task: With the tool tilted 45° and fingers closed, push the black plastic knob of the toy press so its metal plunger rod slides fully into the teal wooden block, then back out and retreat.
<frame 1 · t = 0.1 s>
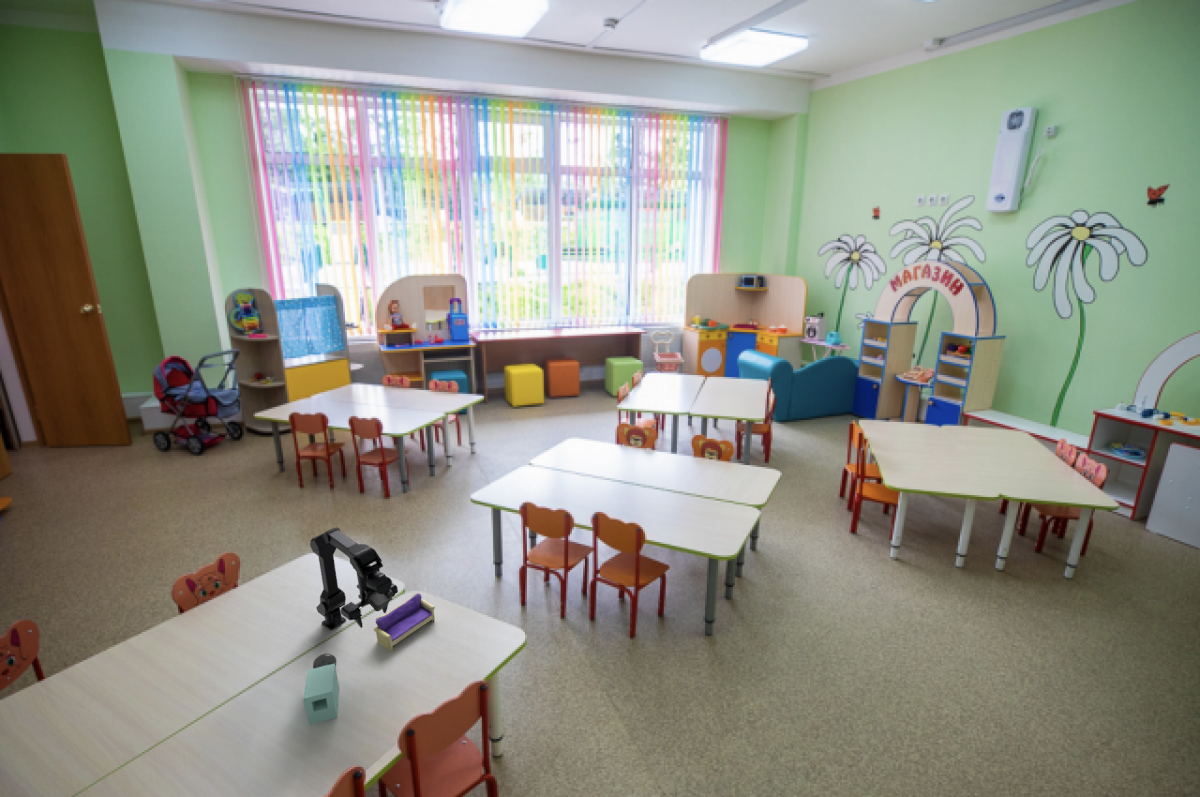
hand: (373, 619, 200), 15 cm above the table, tool pointing down, fingers open, 9 cm apart
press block: (326, 692, 189), on the table
toy sofa: (406, 631, 216), on the table
plunger: (323, 675, 187), point 7 cm above the table, slide at 0.0 cm
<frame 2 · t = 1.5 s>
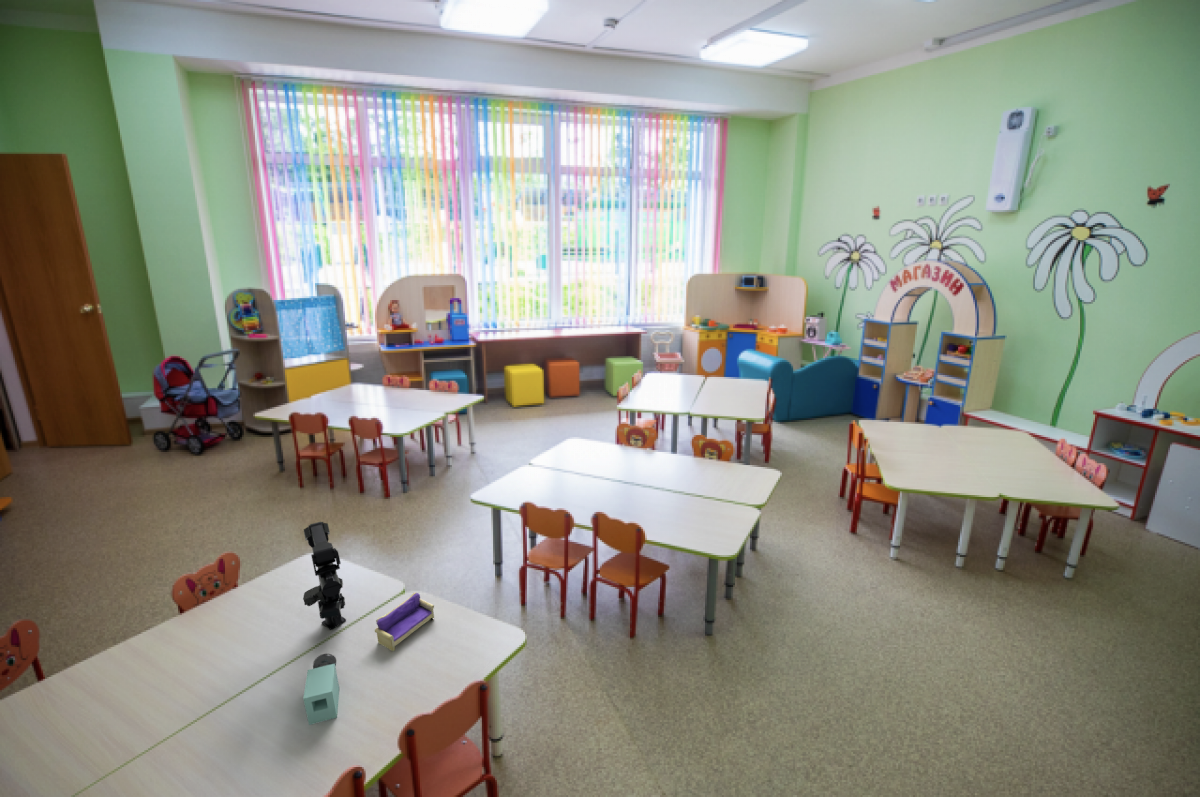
hand: (335, 617, 204), 13 cm above the table, tool pointing down, fingers closed
nothing on the table moved.
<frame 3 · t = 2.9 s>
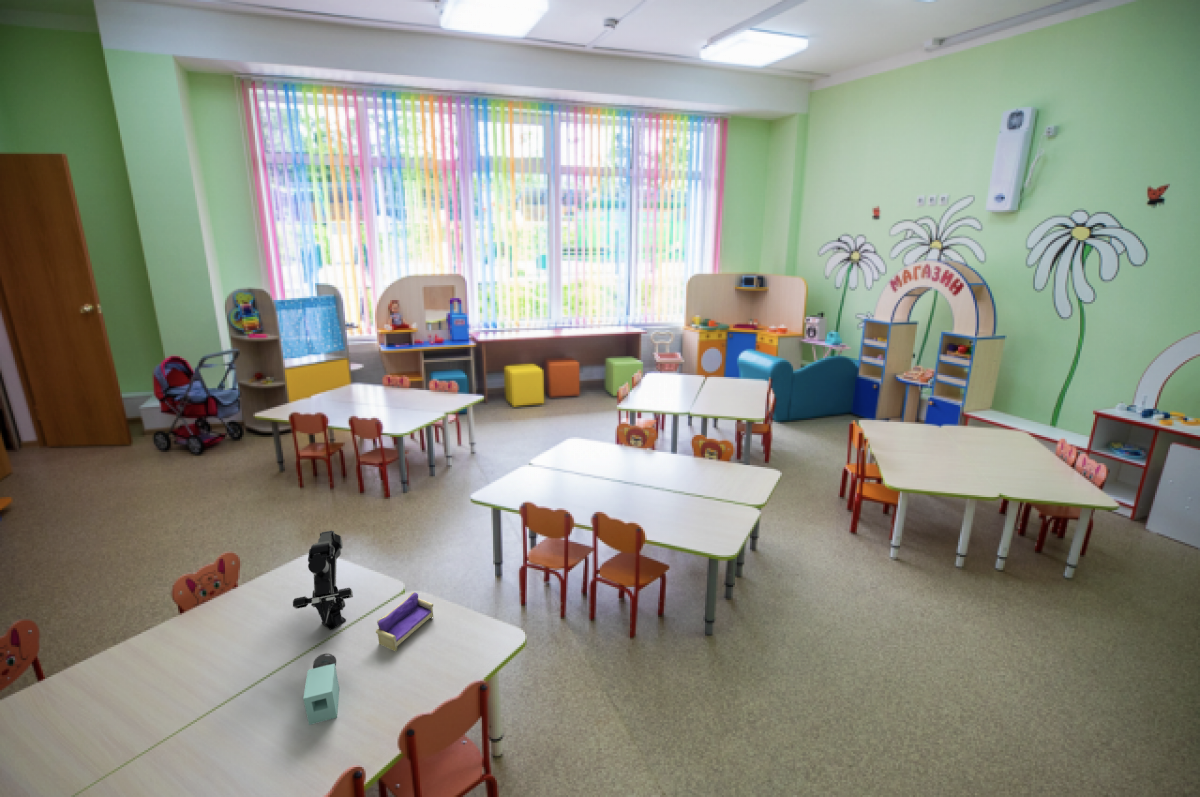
hand: (324, 623, 200), 13 cm above the table, tool tilted 45°, fingers closed
nothing on the table moved.
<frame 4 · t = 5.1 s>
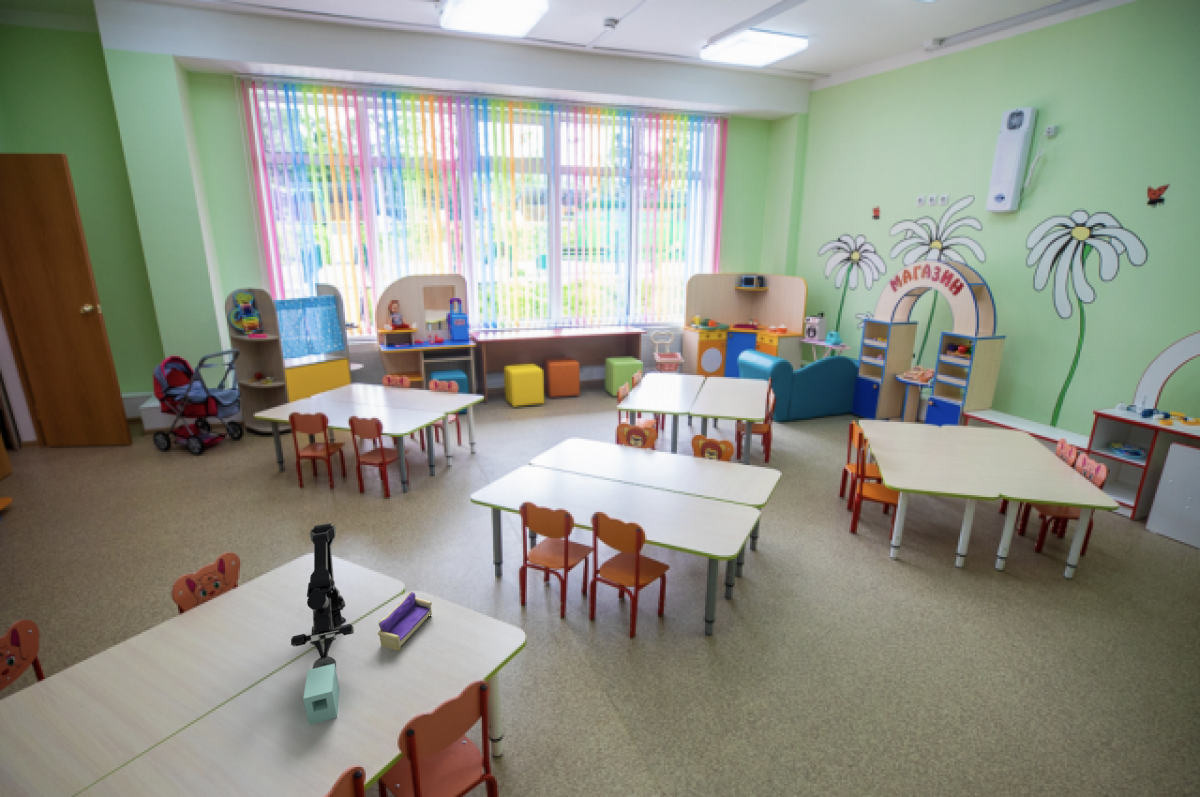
hand: (324, 662, 191), 7 cm above the table, tool tilted 45°, fingers closed, pressing on plunger
plunger: (323, 678, 186), point 7 cm above the table, slide at 1.3 cm, touching gripper
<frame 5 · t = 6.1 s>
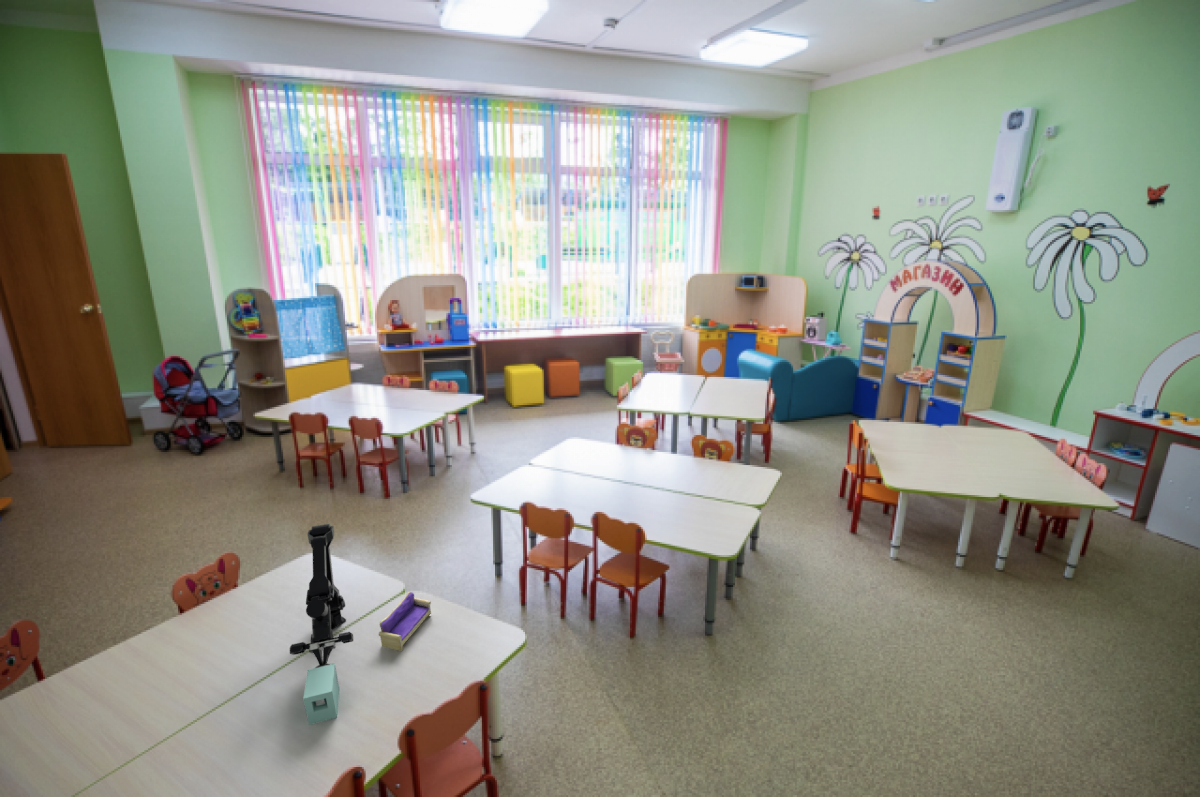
hand: (323, 670, 188), 7 cm above the table, tool tilted 45°, fingers closed, pressing on plunger
plunger: (322, 686, 183), point 7 cm above the table, slide at 4.8 cm, touching gripper
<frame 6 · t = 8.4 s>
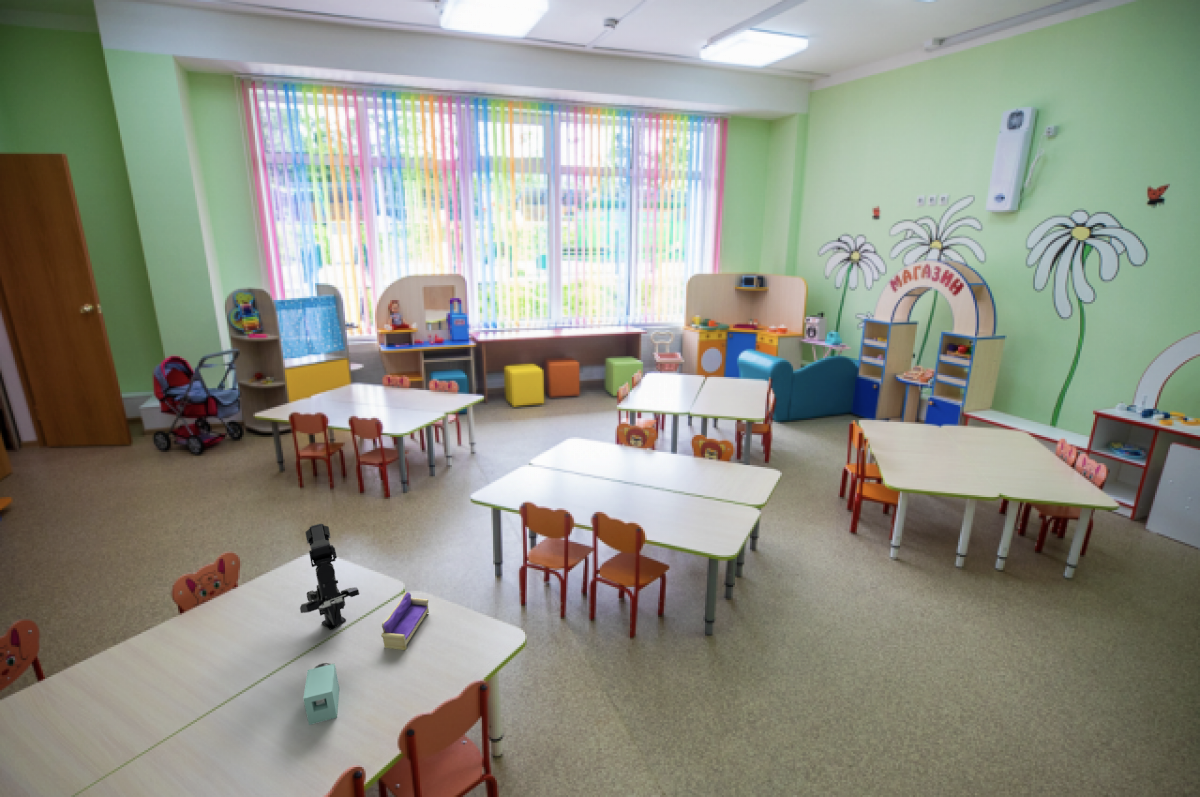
hand: (334, 624, 201), 13 cm above the table, tool tilted 30°, fingers closed
plunger: (322, 686, 183), point 7 cm above the table, slide at 4.5 cm
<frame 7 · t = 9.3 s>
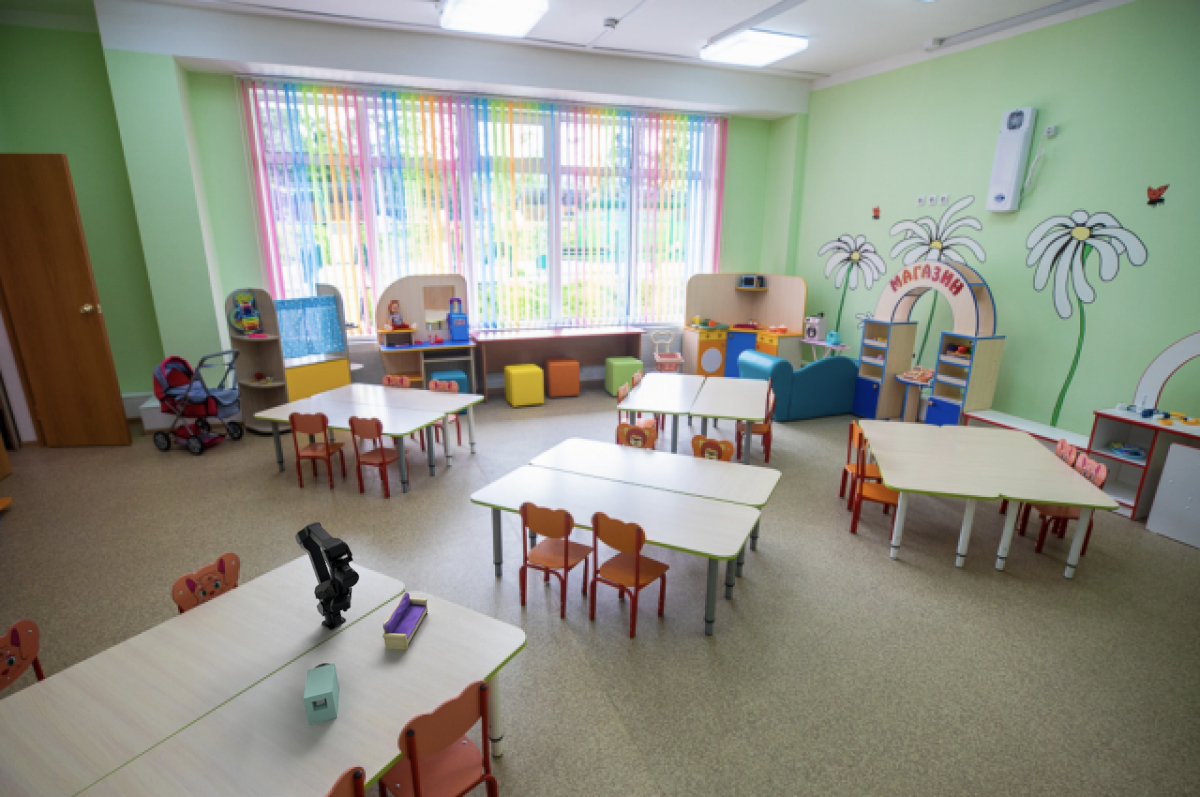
hand: (345, 611, 207), 13 cm above the table, tool pointing down, fingers closed
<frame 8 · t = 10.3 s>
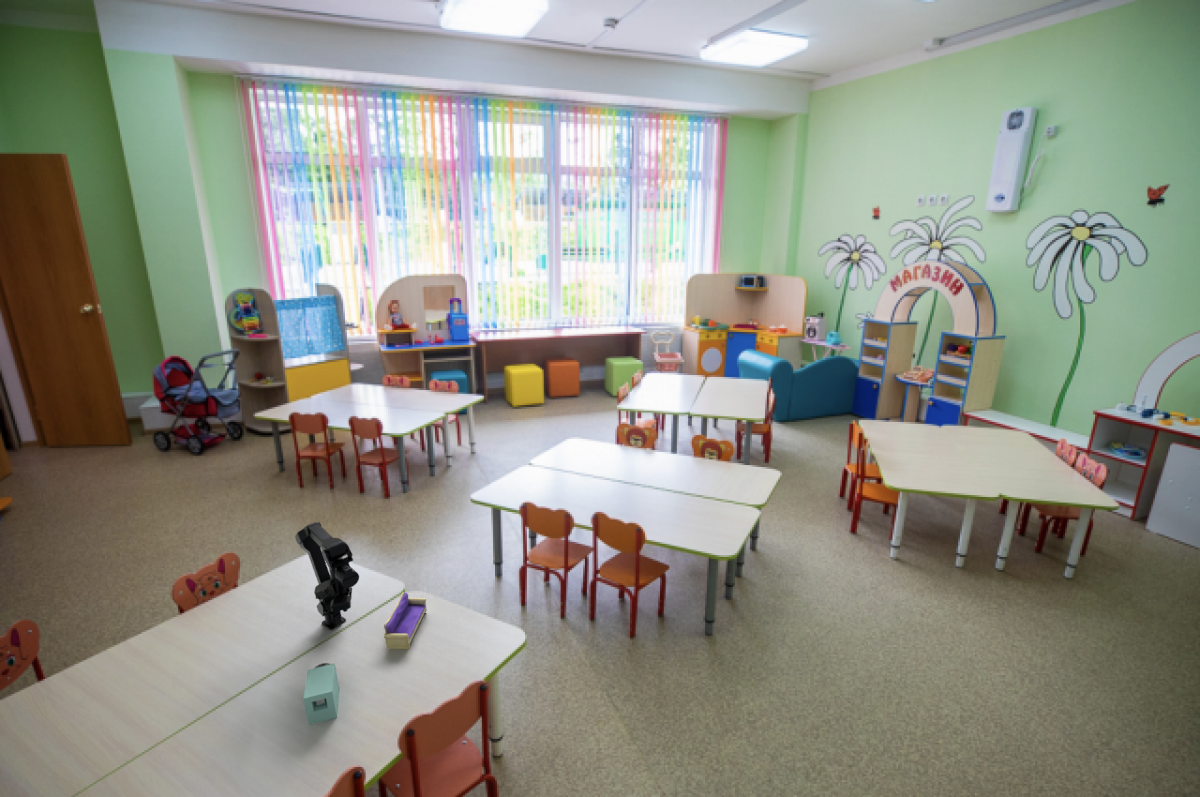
hand: (345, 611, 207), 13 cm above the table, tool pointing down, fingers closed
at the end: plunger slide at 4.5 cm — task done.
